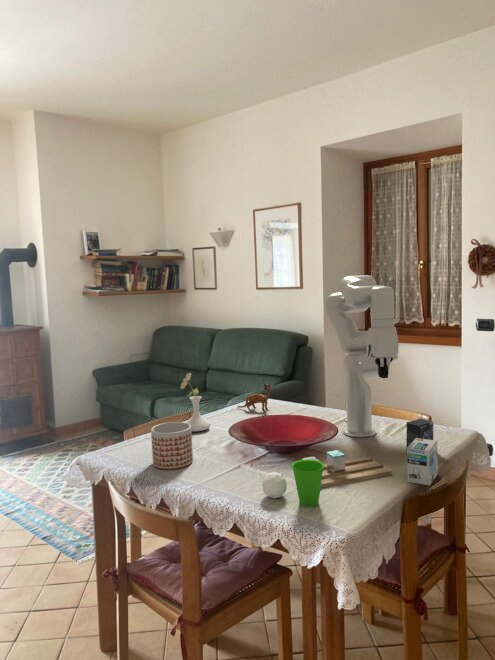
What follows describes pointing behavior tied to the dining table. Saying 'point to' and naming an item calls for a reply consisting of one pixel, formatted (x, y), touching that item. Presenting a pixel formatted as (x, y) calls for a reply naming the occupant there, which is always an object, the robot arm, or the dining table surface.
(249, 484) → the dining table surface
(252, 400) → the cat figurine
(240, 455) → the dining table surface
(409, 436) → the box
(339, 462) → the block
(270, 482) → the ornament
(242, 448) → the dining table surface
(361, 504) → the dining table surface
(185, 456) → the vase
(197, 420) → the flower in vase
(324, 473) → the gauge board
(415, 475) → the light bulb box
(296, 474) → the cup
